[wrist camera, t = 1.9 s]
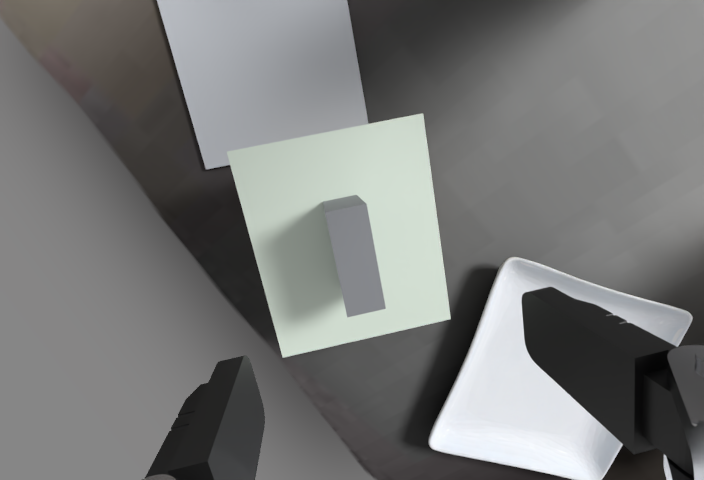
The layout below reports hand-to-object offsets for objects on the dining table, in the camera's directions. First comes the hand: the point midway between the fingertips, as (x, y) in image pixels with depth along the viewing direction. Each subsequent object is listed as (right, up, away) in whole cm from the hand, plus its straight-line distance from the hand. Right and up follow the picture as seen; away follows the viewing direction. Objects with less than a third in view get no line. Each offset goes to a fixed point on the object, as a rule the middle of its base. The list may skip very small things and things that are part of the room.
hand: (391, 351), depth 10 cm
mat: (-8, +18, +18) cm, 27 cm away
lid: (-2, +4, +15) cm, 16 cm away
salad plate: (+19, -10, +28) cm, 35 cm away
